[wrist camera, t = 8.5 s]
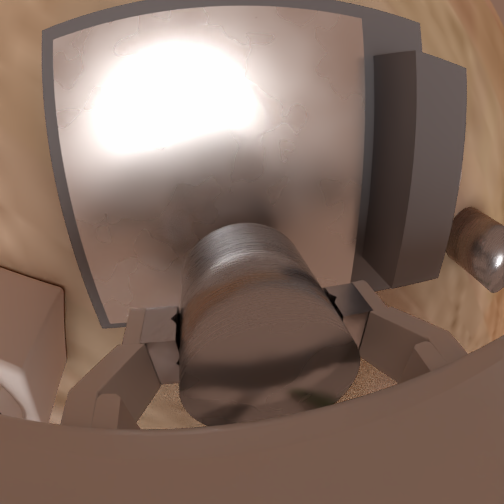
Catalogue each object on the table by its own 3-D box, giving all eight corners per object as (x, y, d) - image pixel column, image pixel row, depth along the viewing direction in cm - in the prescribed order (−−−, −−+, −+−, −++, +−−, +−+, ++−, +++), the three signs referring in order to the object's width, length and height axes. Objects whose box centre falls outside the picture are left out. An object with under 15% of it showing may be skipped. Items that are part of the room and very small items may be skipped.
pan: (342, 284, 15) (348, 292, 15) (113, 313, 14) (110, 323, 13) (352, 22, 9) (361, 18, 9) (61, 42, 8) (52, 39, 7)
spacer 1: (305, 217, 10) (378, 305, 6) (298, 318, 12) (341, 415, 8) (173, 229, 10) (159, 335, 5) (191, 331, 12) (196, 440, 7)
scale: (384, 264, 19) (431, 314, 14) (111, 301, 16) (91, 370, 12) (398, 31, 12) (468, 20, 7) (64, 39, 9) (6, 18, 4)
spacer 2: (472, 255, 20) (510, 286, 16) (439, 262, 20) (480, 298, 16) (485, 206, 18) (528, 232, 14) (452, 207, 18) (501, 238, 13)
